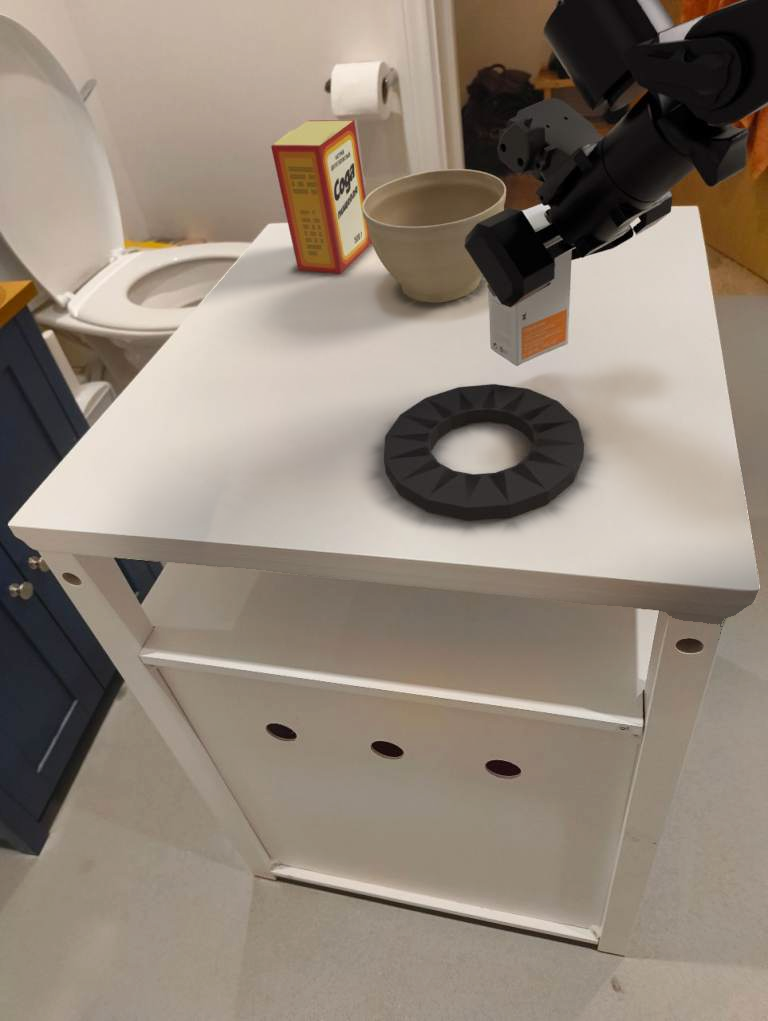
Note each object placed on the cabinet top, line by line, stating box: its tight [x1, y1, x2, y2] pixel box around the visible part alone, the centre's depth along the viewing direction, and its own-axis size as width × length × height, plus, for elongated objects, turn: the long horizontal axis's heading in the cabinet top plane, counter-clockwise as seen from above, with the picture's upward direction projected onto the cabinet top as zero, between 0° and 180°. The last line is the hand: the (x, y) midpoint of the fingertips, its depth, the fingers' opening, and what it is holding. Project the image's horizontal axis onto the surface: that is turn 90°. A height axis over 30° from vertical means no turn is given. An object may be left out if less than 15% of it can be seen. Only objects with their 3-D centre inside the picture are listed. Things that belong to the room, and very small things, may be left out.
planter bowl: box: [362, 168, 507, 303], centre depth 86 cm, size 16×16×11 cm
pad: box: [383, 383, 585, 522], centre depth 65 cm, size 17×17×2 cm
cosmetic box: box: [487, 203, 572, 367], centre depth 64 cm, size 6×4×12 cm
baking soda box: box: [270, 119, 372, 275], centre depth 95 cm, size 10×6×16 cm
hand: (518, 276), depth 65 cm, fingers closed on cosmetic box, 6 cm apart
